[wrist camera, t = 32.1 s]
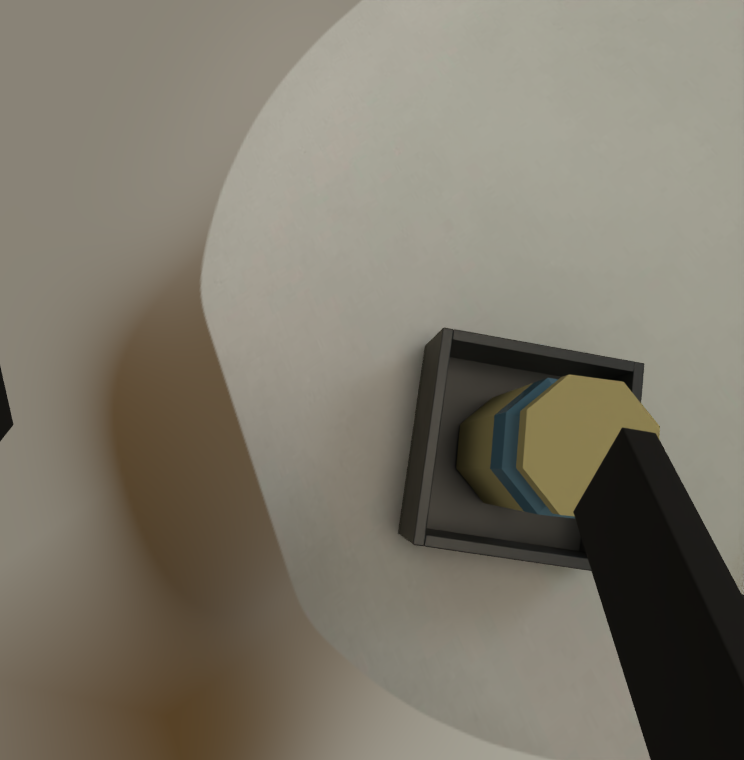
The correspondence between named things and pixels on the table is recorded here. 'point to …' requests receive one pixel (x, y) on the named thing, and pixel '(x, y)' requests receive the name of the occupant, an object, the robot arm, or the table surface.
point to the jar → (546, 441)
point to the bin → (441, 436)
